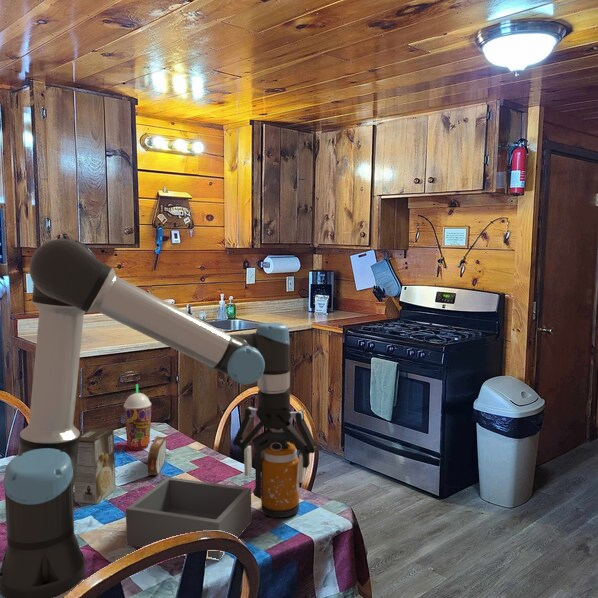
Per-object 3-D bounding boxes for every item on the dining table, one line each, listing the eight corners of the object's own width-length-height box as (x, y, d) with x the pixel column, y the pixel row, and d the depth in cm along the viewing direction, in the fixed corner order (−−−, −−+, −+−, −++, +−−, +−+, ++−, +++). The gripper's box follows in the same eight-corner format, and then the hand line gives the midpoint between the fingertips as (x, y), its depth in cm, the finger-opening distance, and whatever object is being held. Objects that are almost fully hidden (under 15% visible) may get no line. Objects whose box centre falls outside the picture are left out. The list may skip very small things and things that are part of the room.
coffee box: (93, 487, 153) (91, 427, 151) (116, 489, 152) (114, 429, 150) (73, 502, 144) (71, 439, 142) (97, 504, 143) (95, 441, 141)
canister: (301, 518, 136) (302, 434, 134) (254, 521, 134) (253, 437, 132) (295, 501, 145) (295, 422, 143) (251, 504, 143) (250, 425, 141)
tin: (157, 459, 172) (157, 432, 172) (168, 459, 173) (167, 431, 172) (146, 480, 157) (145, 450, 157) (158, 480, 158) (157, 449, 157)
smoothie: (137, 453, 177) (135, 389, 175) (118, 448, 181) (117, 385, 180) (158, 445, 184) (156, 383, 182) (139, 440, 188) (138, 380, 186)
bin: (219, 561, 118) (219, 523, 117) (126, 545, 124) (125, 508, 123) (251, 521, 134) (251, 488, 133) (168, 509, 140) (167, 477, 140)
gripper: (329, 388, 136) (329, 476, 138) (230, 382, 143) (232, 465, 146) (321, 397, 129) (321, 489, 131) (218, 389, 136) (220, 477, 138)
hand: (274, 477), depth 138 cm, fingers open, 13 cm apart
